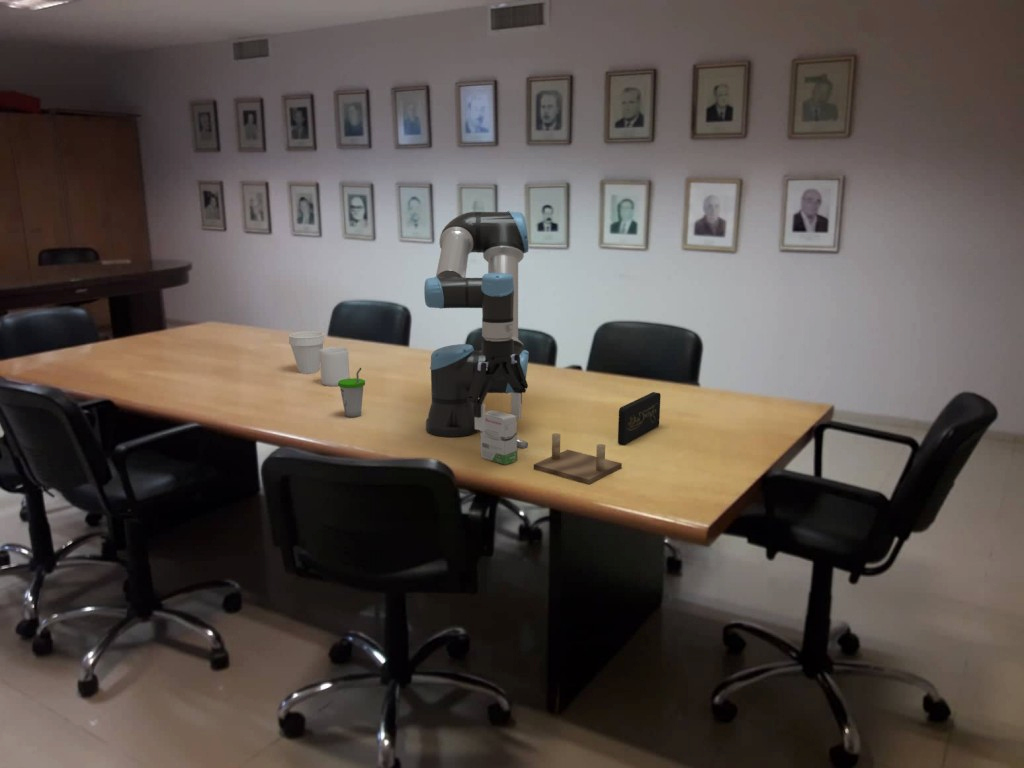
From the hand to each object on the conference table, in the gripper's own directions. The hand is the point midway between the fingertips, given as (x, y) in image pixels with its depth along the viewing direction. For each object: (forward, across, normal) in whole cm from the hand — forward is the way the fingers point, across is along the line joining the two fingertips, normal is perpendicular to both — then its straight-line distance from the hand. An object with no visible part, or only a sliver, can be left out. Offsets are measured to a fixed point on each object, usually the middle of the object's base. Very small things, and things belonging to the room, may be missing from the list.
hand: (498, 423), depth 199 cm
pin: (+8, +12, +4) cm, 16 cm away
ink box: (+10, 0, 0) cm, 10 cm away
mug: (+8, +24, +94) cm, 98 cm away
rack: (+9, +8, -19) cm, 22 cm away
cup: (+9, +2, +58) cm, 59 cm away
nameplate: (+9, +40, -16) cm, 44 cm away
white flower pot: (+8, +28, +114) cm, 118 cm away
